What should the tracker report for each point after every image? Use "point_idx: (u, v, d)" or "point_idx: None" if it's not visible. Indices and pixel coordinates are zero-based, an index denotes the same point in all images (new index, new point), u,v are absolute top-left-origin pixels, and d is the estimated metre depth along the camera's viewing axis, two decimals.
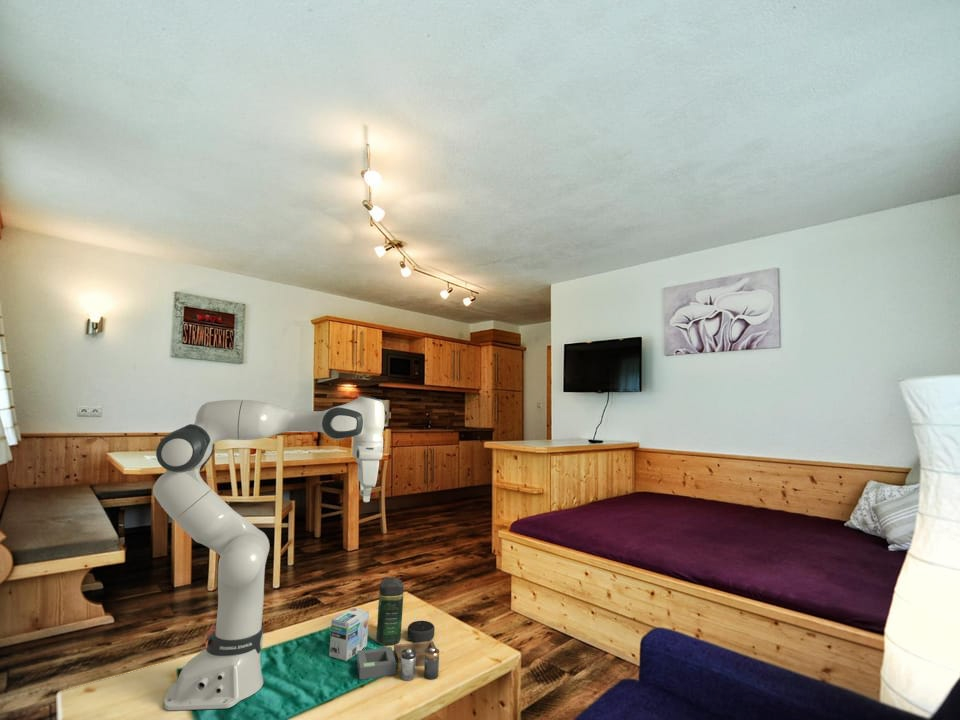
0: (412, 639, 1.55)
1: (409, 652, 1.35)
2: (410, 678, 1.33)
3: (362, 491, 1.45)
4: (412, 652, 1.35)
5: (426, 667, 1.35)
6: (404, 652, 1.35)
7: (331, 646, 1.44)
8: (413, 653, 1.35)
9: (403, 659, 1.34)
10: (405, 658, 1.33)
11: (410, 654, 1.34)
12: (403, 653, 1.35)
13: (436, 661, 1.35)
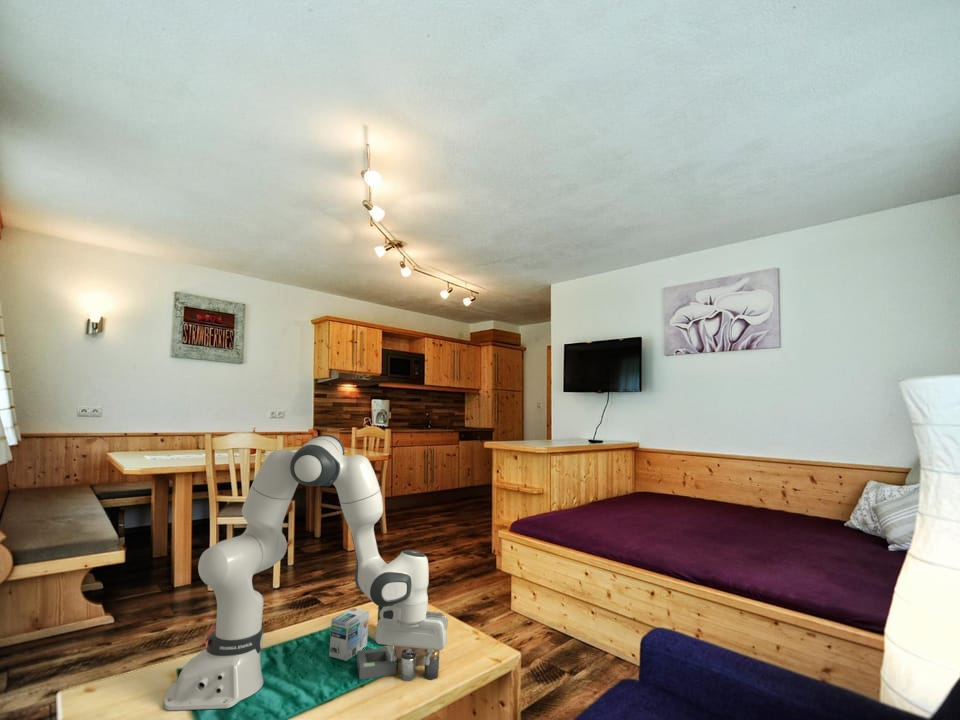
0: None
1: (409, 652, 1.35)
2: (410, 678, 1.33)
3: None
4: (412, 652, 1.35)
5: (426, 666, 1.35)
6: (404, 652, 1.35)
7: (331, 646, 1.44)
8: (413, 653, 1.35)
9: (403, 659, 1.34)
10: (405, 658, 1.33)
11: (410, 654, 1.34)
12: (403, 653, 1.35)
13: (436, 660, 1.35)
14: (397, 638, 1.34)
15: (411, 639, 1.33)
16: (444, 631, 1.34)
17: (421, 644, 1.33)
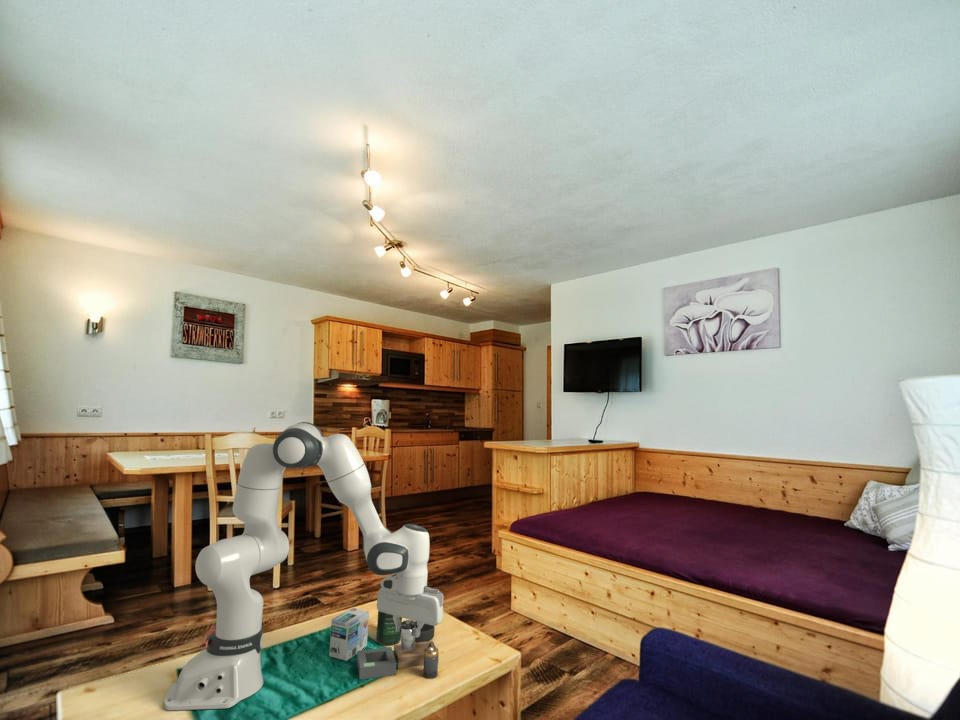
0: None
1: (408, 622, 1.36)
2: (409, 648, 1.34)
3: None
4: (411, 623, 1.37)
5: (425, 666, 1.35)
6: (403, 622, 1.37)
7: (331, 646, 1.44)
8: (412, 624, 1.36)
9: (402, 629, 1.36)
10: (403, 628, 1.35)
11: (408, 624, 1.36)
12: (402, 623, 1.37)
13: (435, 660, 1.35)
14: (395, 608, 1.37)
15: (408, 611, 1.35)
16: (439, 608, 1.33)
17: (417, 617, 1.34)
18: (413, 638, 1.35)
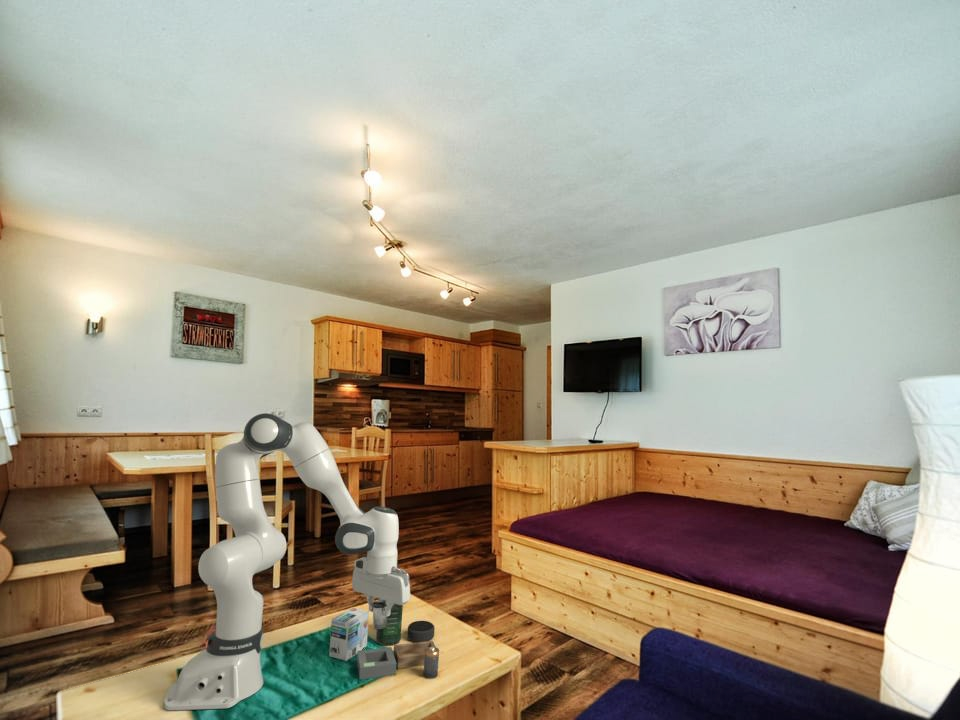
0: (412, 639, 1.55)
1: (379, 602, 1.40)
2: (379, 626, 1.38)
3: None
4: (382, 602, 1.40)
5: (426, 666, 1.35)
6: (376, 602, 1.41)
7: (331, 646, 1.44)
8: (382, 603, 1.40)
9: (373, 608, 1.40)
10: (374, 607, 1.40)
11: (379, 603, 1.40)
12: (374, 602, 1.41)
13: (436, 660, 1.35)
14: (367, 588, 1.42)
15: (378, 591, 1.39)
16: (404, 587, 1.36)
17: (385, 597, 1.38)
18: (384, 617, 1.39)
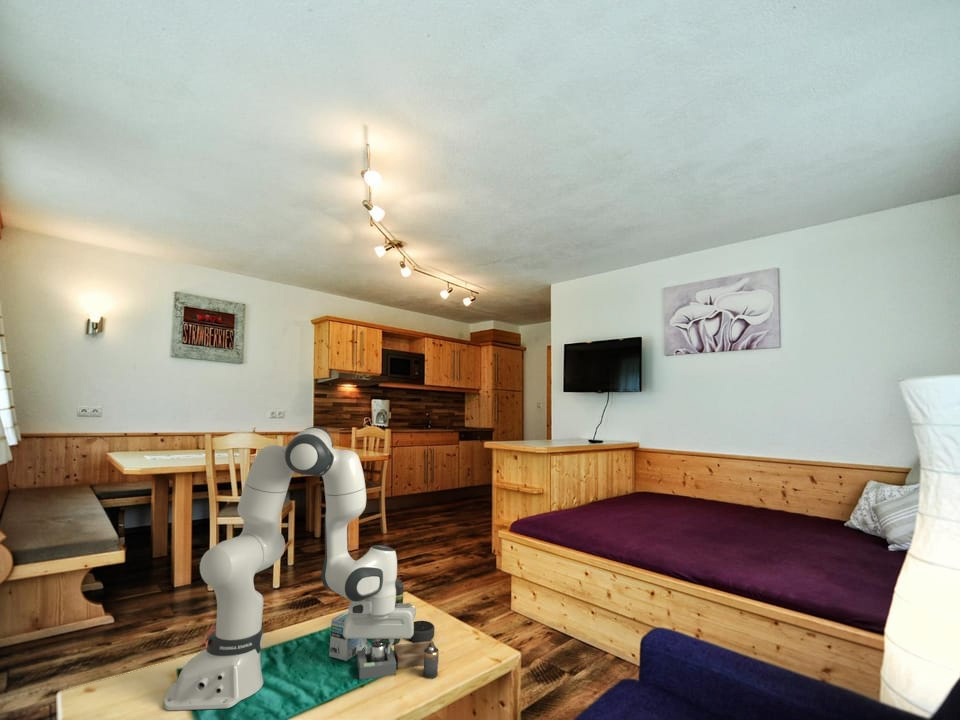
0: (412, 639, 1.55)
1: (379, 640, 1.39)
2: None
3: (385, 647, 1.40)
4: (382, 640, 1.39)
5: (425, 666, 1.35)
6: (374, 641, 1.39)
7: (331, 646, 1.44)
8: (383, 641, 1.39)
9: (373, 648, 1.38)
10: (376, 646, 1.38)
11: (380, 642, 1.38)
12: (373, 642, 1.38)
13: (435, 660, 1.35)
14: (365, 631, 1.38)
15: (380, 631, 1.38)
16: (412, 620, 1.40)
17: (390, 635, 1.38)
18: (384, 655, 1.39)
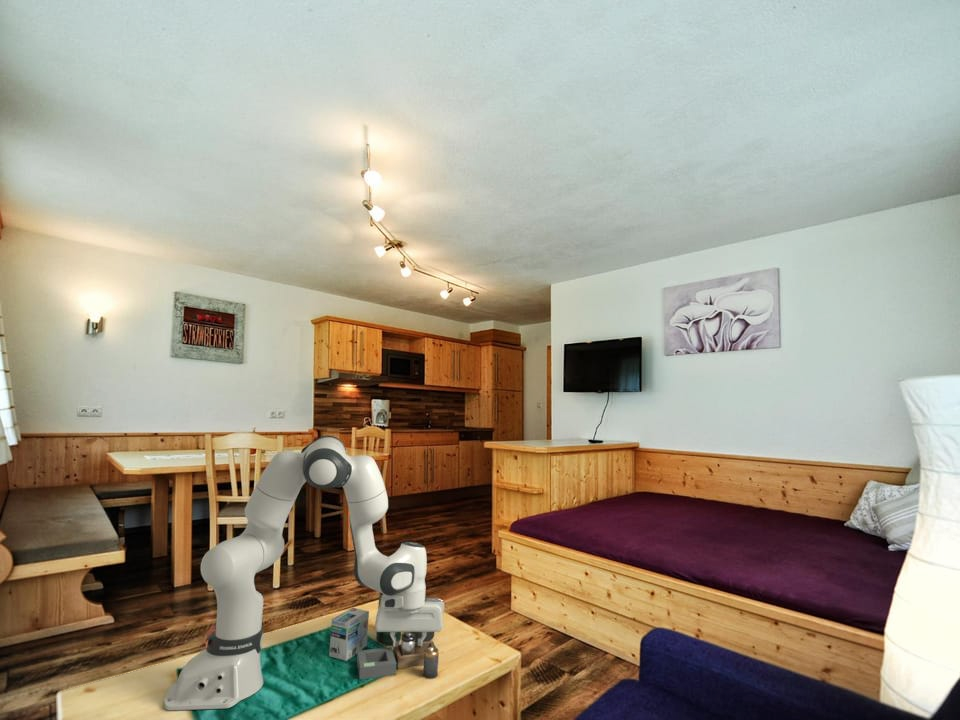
0: None
1: (409, 635, 1.44)
2: None
3: None
4: (412, 635, 1.44)
5: (426, 667, 1.35)
6: (404, 636, 1.44)
7: (331, 646, 1.44)
8: (413, 636, 1.44)
9: (404, 642, 1.42)
10: (406, 641, 1.42)
11: (411, 637, 1.43)
12: (404, 637, 1.43)
13: (436, 660, 1.35)
14: (397, 625, 1.43)
15: (411, 624, 1.43)
16: (441, 614, 1.45)
17: (421, 628, 1.43)
18: (414, 649, 1.44)
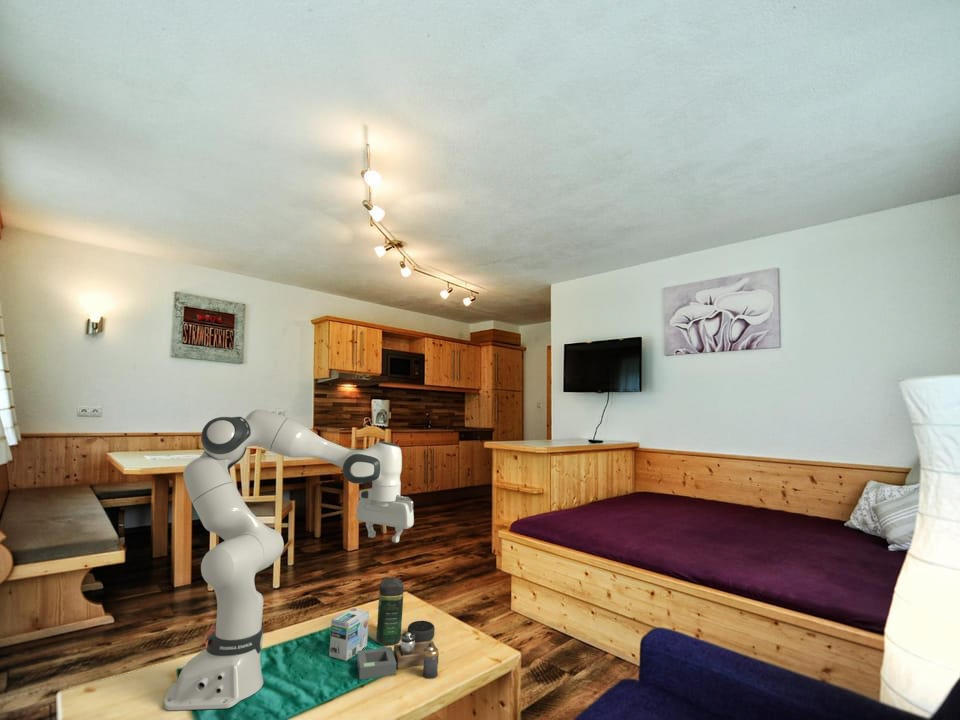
0: None
1: (409, 636, 1.43)
2: None
3: None
4: (412, 636, 1.44)
5: (426, 667, 1.35)
6: (404, 636, 1.44)
7: (331, 646, 1.44)
8: (413, 636, 1.44)
9: (404, 642, 1.42)
10: (406, 641, 1.42)
11: (410, 637, 1.43)
12: (403, 637, 1.43)
13: (436, 659, 1.36)
14: (372, 516, 1.50)
15: (382, 518, 1.48)
16: (409, 513, 1.46)
17: (390, 523, 1.47)
18: None
